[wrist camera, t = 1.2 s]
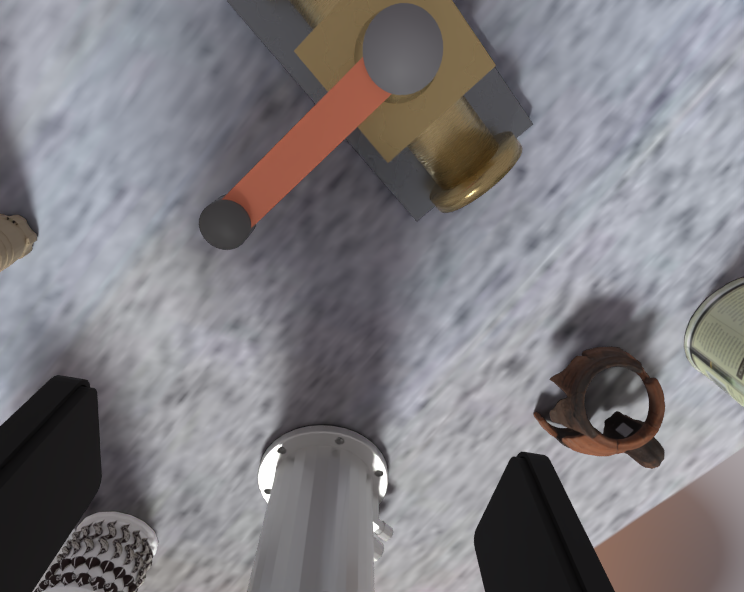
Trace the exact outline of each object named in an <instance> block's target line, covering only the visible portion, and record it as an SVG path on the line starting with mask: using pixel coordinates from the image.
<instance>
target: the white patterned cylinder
mask: <svg viewBox="0 0 744 592" xmlns="http://www.w3.org/2000/svg"><path fill="white" fill-rule="evenodd" d="M72 537H73V539H72V540H68V541H67V546H65V547H63V549H62V552H63V554H59V555H58V556H57V561H58V563H56V564H54V565H52V566H51V568H50V571H48V572H47V573H46V575H45V579H46V580H43V581H42V582H41V583H40V584H39V587H38V588H37V589H36V590H35V591H34V592H137V591H138V587H139V586H141V585H142V584H143V583H144V581H145V578H146V572H147V570H148V569H150V567H151V565H152V558H153V556H154V555H155V554H156V551H157V547H158V543H159V542H158V539H157V536H156V534H155V531H154V530H153V529H152V528H150V527H149V526H148V525H147V524H146V523H145V522H144V521H142V520H140V519H138V518H136V517H134V516H132V515H129V514H125V513H120V512H115V511H111V512H98V513H95V514H92V515H90V516H87V517H86V518H85V519H84V520H83V521H82V522H81V523H80V524H79V525H78V527H77V530H76V532H74V533H73V534H72Z"/></svg>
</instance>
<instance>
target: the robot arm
mask: <svg viewBox="0 0 744 592" xmlns="http://www.w3.org/2000/svg"><path fill="white" fill-rule="evenodd" d="M101 477H102V475H101V456H100V437H99V419H98V400H97V391H96V389H95V388H90V383H89V382H88V380H85V379H78V378H72V377H66V376H60V375H57V376H54V377H53V378H51V379H50V380H49V381H48V382H47V383H46V384H45V385H44V386H43V387H42V388H41V389H39V390H38V391H37V392H36V393H35V394H34V395H33V396H32V397H31V398H30V399H29V400H28V401H27V402H26V403H25V404H23V405H22V406H21V407H20V408H19V409H18V410H17V411H16V412H15V413H14V414H13V415H12V416H11V417H10V418H9V419H8V420H6V421H5V422H4V423H3V424H2V425H1V426H0V592H32V591H33V590H34V588H35V587H36V585H37V584H38V582H39V581H40V579H41V577H42V576H43V574H44V573H45V571H46V570H47V568H48V567H49V565H50V564H51V562H52V561H53V559H54V558H55V556H56V555H57V553H58V552H59V550H60V548H61V547H62V545H63V544H64V542H65V541H66V539H67V538H68V536H69V535H70V533H71V532H72V530H73V529H74V527H75V526H76V524H77V523H78V521H79V520H80V518H81V516H82V515H83V513H84V512H85V510H86V509H87V507H88V506H89V504H90V503H91V501H92V500H93V498H94V497H95V495H96V493H97V491H98V489H99V486H100V483H101ZM258 485H259V488H260V491H261V494H262V495H263V497H264V498H265V500H266V501H267V503H268V504H267V508H266V513H265V517H264V521H263V526H262V530H261V534H260V538H259V543H258V547H257V551H256V555H255V560H254V564H253V568H252V572H251V577H250V581H249V585H248V589H247V592H375V591H374V562H375V561H377V560H379V559H380V557H381V556H382V554H383V551H384V546H383V543H381V542H380V541H379V540H377V539H376V538H375V537H373V532H374V533H375V534H376V535H377V536H379V537H380V538H381V539H383V540H384V541H389V540H390V539H391V537H392V535H393V529H392V528H391V527H390V526H389V525H387V524H386V523H385V522H383V521H381V520H380V519H379V504H380V502H381V501H382V500H383V498H384V496H385V493H386V491H387V486H388V470H387V465H386V461H385V459H384V457H383V455H382V453H381V452H380V451H379V449H378V448H377V447H376V446H375V445H374V444H373V443H372V442H371V441H369V440H368V439H367V438H365V437H363V436H362V435H360V434H358V433H356V432H354V431H351V430H348V429H346V428H341V427H336V426H326V425H317V426H307V427H303V428H299V429H295V430H293V431H291V432H288V433H286V434H284V435H282V436H281V437H280V438H278V439H277V440H275V441H274V442H273V443H272V444H271V445H270V446H269V447H268V448H267V450H266V452H265V453H264V455H263V457H262V460H261V463H260V466H259V471H258ZM474 546H475V551H476V555H477V559H478V564H479V568H480V572H481V576H482V581H483V585H484V589H485V592H615V591H614V589H613V587H612V585H611V583H610V581H609V579H608V577H607V575H606V573H605V571H604V569H603V567H602V565H601V562H600V560H599V558H598V556H597V554H596V552H595V550H594V548H593V546H592V544H591V542H590V540H589V538H588V536H587V534H586V532H585V530H584V528H583V526H582V524H581V522H580V520H579V518H578V516H577V514H576V512H575V510H574V508H573V506H572V504H571V502H570V500H569V498H568V496H567V494H566V492H565V490H564V487H563V485H562V483H561V481H560V479H559V477H558V475H557V473H556V471H555V469H554V467H553V465H552V463H551V461H550V459H549V458H548V457H547V456H545V455H540V454H534V453H528V452H520V453H519V454H518V455H517V457H512V458H511V459H510V460H509V462H508V465H507V467H506V469H505V471H504V473H503V475H502V477H501V479H500V481H499V483H498V485H497V487H496V489H495V491H494V493H493V495H492V497H491V499H490V502H489V504H488V506H487V508H486V510H485V512H484V514H483V516H482V518H481V520H480V522H479V524H478V526H477V528H476V531H475V535H474Z"/></svg>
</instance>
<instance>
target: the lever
mask: <svg viewBox="0 0 744 592" xmlns="http://www.w3.org/2000/svg"><path fill="white" fill-rule="evenodd" d="M442 56H443V39H442V34H441V31H440V29H439V26H438V24H437V23H436V21H435V19H434V18H433V17H432V16H431V15H430V14H429V13H428V12H427V11H426V10H424V9H423V8H421V7H419V6H417V5H414V4H410V3H398V4H394V5H391V6H389V7H387V8H385V9H383V10H382V11H380V12H379V13H378V14H377V15H376V16H375V17H374V19H373V20H372V21H371V23H370V24H369V26H368V28H367V30H366V33H365V36H364V41H363V57H362V58H361V59H360V60H359V61H358V62H357V63H356V64H355V65H354V66H353V67H352V68H351V69H350V70H349V71H348V72H347V73H346V74H345V76H344V77H343V78H342V79H341V80H340V81H339V82H338V83H337V84H336V85H335V86H334V87H333V88H332V89H331V90H330V91H329V92H328V93H327V94H326V95H325V96H324V97H323V98H322V99H321V100H320V101H319V102H318V103H317V104H316V105H315V106H314V107H313V108H312V109H311V110H310V111H309V112H308V113H307V114H306V115H305V116H304V117H303V118H302V119H301V120H300V121H299V122H298V123H297V124H296V125H295V126H294V127H293V128H292V129H291V130H290V131H289V132H288V133H287V134H286V135H285V136H284V137H283V138H282V139H281V140H280V141H279V142H278V143H277V144H276V145H275V146H274V147H273V148H272V149H271V150H270V151H269V152H268V153H267V154H266V155H265V156H264V157H263V158H262V159H261V160H260V161H259V162H258V163H257V164H256V165H255V166H254V167H253V168H252V169H251V170H250V171H249V172H248V173H247V174H246V175H245V176H244V177H243V178H242V179H241V180H240V181H239V182H238V183H237V184H236V185H235V186H234V187H233V188H232V189H231V191H230V192H229V193H228V194H226V195H223V196H221V197H220V198H218V199H217V200H215V201H214V202H213V203H211V204H210V205H209V206H207V207H206V208H205V209H204V210H203V211H202V213H201V215H200V218H199V228H200V231H201V234H202V235H203V237H204V238H205V240H206V241H207V242H208V243H210V244H211V245H212V246H214V247H216V248H219V249H223V250H230V249H235V248H237V247H239V246H240V245H242V244H243V243H244V241H245V240H246V239H247V238H248V236H249V235H250V234H251V233H252V231H253V230H254V229H255V226H256V223H257V222H258V221H259V220H260V219H261V218H263V217H264V216H265V215H266V214H267V213H268V212H269V211H270V210H271V209H272V208H273V207H274V206H275V205H276V204H277V203H278V202H279V201H280V200H281V199H282V198H283V197H285V196H286V195H287V194H288V193H289V192H290V191H291V190H292V189H293V188H294V187H295V186H296V185H297V184H298V183H299V182H300V181H301V180H302V179H303V178H304V177H305V176H306V175H308V174H309V173H310V172H311V171H312V170H313V169H314V168H315V167H316V166H317V165H318V164H319V163H320V162H321V161H322V160H323V159H324V158H325V157H326V156H327V155H328V154H329V153H331V152H332V151H333V150H334V149H335V148H336V147H337V146H338V145H339V144H340V143H341V142H342V141H343V140H344V139H345V138H346V137H347V136H348V135H349V134H350V133H351V132H353V131H354V130H355V129H356V128H357V127H358V126H359V125H360V124H361V123H362V122H363V121H364V120H365V119H366V118H367V117H368V116H369V115H370V114H371V113H372V112H373V111H374V110H376V109H377V108H378V107H379V106H380V105H381V104H382V103H383V102H384V101H385V100H386V99H387V98H388V97H389V96H390V95H391V94H395V95H408V94H412V93H415V92H417V91H420V90H421V89H423V88H424V87H425V86H427V85H428V84H429V83H430V82H431V81H432V79H433V78H434V77H435V75H436V73H437V72H438V70H439V67H440V65H441V61H442Z"/></svg>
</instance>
